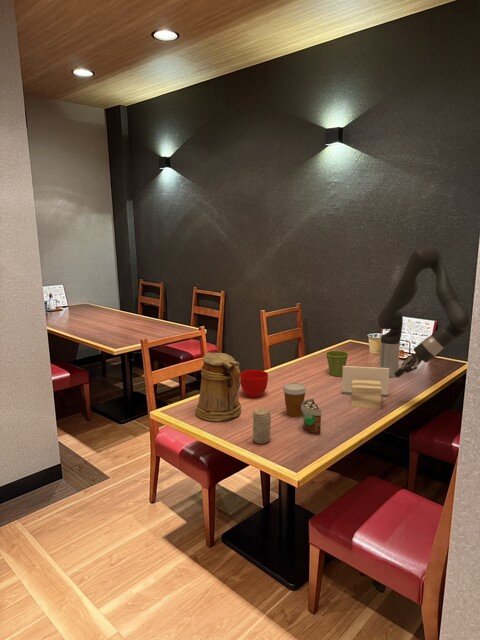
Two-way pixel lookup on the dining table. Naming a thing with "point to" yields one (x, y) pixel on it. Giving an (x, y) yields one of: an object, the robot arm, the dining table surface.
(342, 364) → the plant pot
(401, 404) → the dining table surface
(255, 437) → the beige textured cylinder
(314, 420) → the food container
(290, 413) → the disposable coffee cup
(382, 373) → the letter sign
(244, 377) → the ceramic cup
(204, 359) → the tankard
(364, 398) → the beech block
